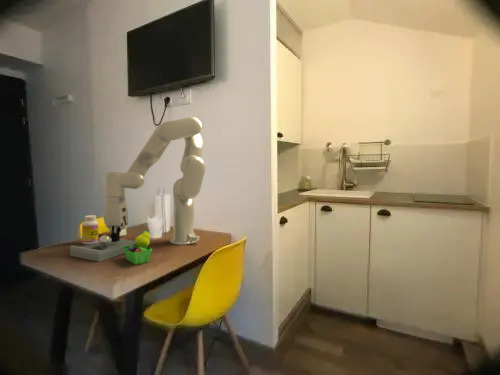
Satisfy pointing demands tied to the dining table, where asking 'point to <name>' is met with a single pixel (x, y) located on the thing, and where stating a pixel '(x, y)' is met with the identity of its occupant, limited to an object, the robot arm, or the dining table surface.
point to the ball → (105, 240)
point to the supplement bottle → (90, 230)
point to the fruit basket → (139, 249)
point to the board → (100, 250)
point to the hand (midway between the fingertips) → (115, 241)
